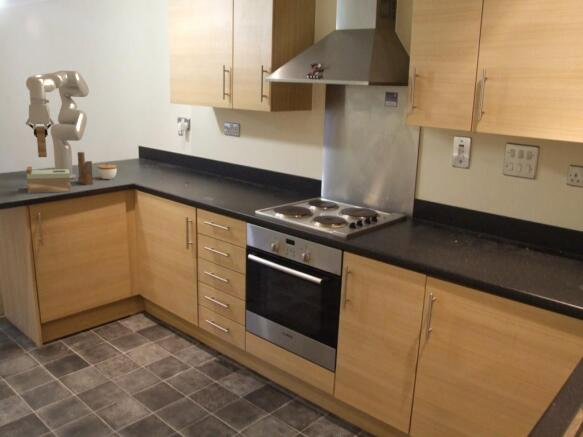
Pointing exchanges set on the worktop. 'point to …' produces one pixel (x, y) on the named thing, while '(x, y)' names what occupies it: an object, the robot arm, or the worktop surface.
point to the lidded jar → (107, 171)
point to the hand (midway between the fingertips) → (41, 136)
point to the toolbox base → (48, 185)
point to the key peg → (41, 141)
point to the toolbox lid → (47, 173)
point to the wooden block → (84, 170)
